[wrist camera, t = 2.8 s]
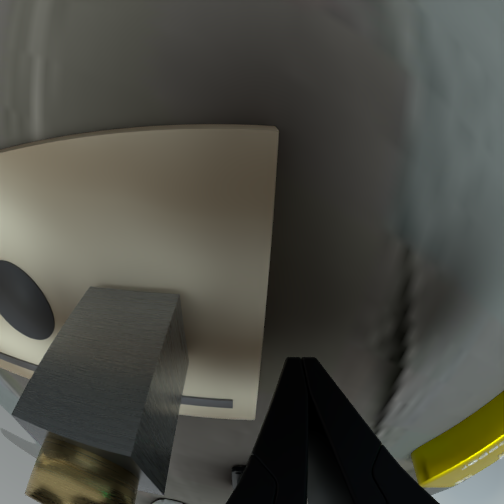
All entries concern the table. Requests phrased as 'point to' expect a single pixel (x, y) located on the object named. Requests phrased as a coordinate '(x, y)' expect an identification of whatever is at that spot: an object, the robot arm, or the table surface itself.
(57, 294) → the bolt plate
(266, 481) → the robot arm
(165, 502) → the photo printer
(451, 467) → the element tile
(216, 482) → the table surface
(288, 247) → the table surface
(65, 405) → the sliding leg
